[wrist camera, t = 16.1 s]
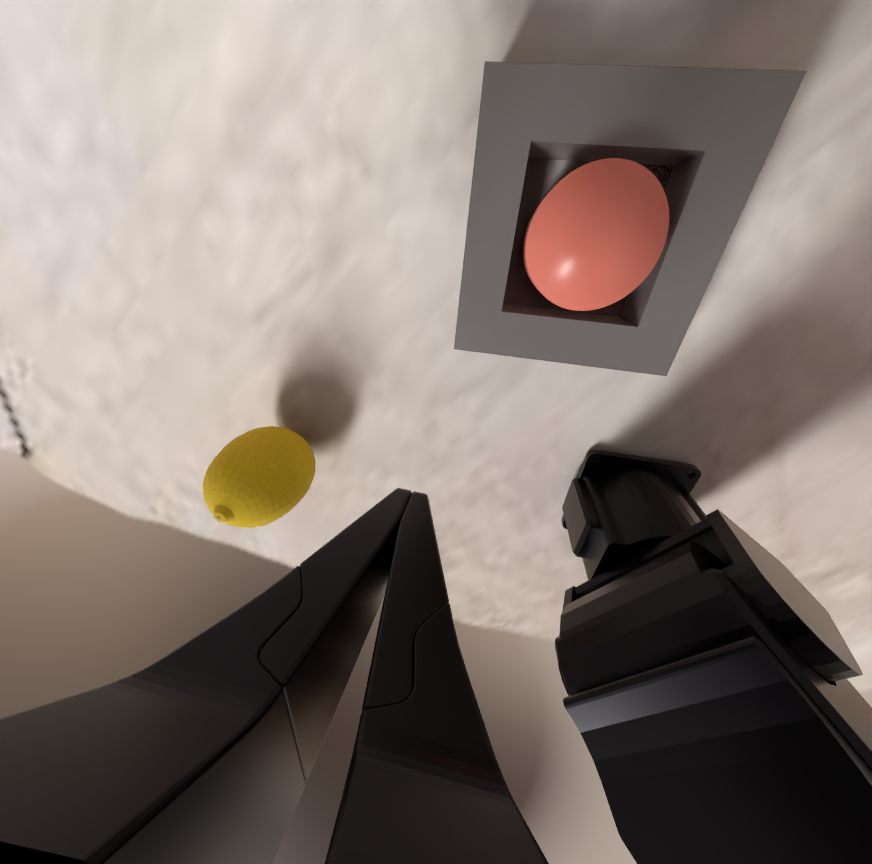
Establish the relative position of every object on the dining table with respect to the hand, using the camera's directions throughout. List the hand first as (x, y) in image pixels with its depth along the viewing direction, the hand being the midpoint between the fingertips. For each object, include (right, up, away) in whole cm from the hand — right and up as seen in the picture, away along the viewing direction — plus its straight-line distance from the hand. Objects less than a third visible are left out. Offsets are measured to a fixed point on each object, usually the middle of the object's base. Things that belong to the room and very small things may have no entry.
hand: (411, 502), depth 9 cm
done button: (+7, +11, +6) cm, 14 cm away
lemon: (-9, +1, +15) cm, 18 cm away
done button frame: (+7, +11, +6) cm, 15 cm away
